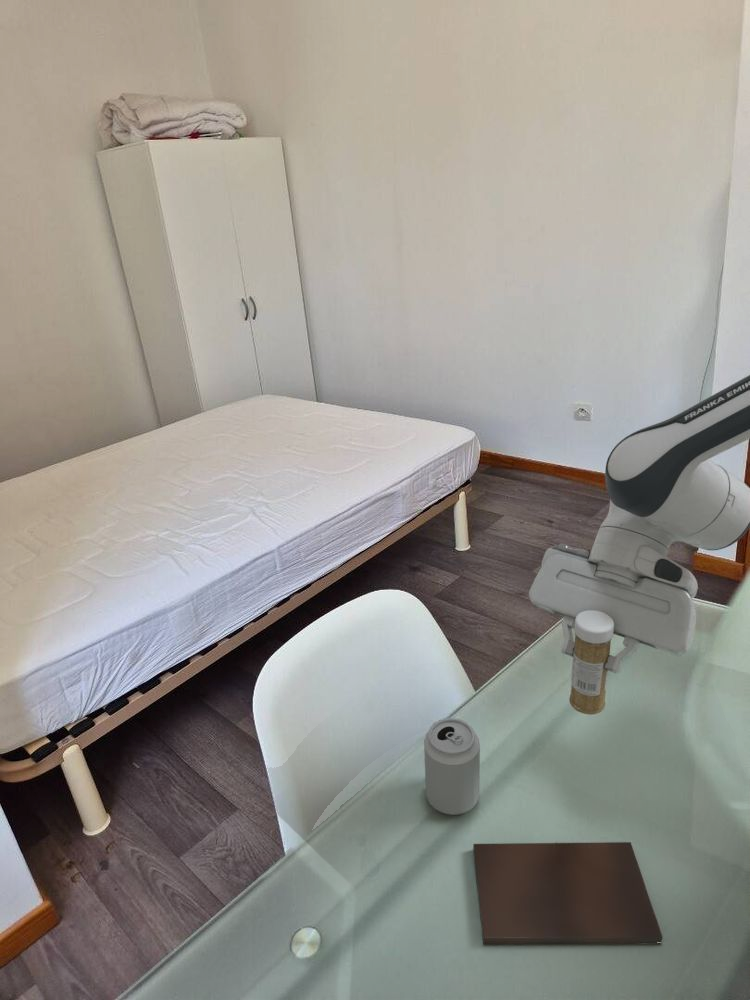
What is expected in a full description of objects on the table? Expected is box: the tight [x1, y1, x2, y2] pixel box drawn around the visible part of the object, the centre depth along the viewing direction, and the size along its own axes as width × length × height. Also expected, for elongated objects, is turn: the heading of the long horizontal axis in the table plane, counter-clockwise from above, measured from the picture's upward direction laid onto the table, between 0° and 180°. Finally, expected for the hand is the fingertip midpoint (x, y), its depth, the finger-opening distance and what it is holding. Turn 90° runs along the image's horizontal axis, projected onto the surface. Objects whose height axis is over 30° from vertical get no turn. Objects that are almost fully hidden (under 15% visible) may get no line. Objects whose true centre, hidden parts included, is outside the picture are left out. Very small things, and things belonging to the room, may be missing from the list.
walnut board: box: [472, 841, 664, 945], centre depth 83 cm, size 20×12×1 cm, turn 88°
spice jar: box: [568, 610, 614, 716], centre depth 86 cm, size 5×5×14 cm
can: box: [423, 717, 481, 816], centre depth 94 cm, size 8×8×12 cm
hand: (589, 663), depth 86 cm, fingers closed on spice jar, 4 cm apart
